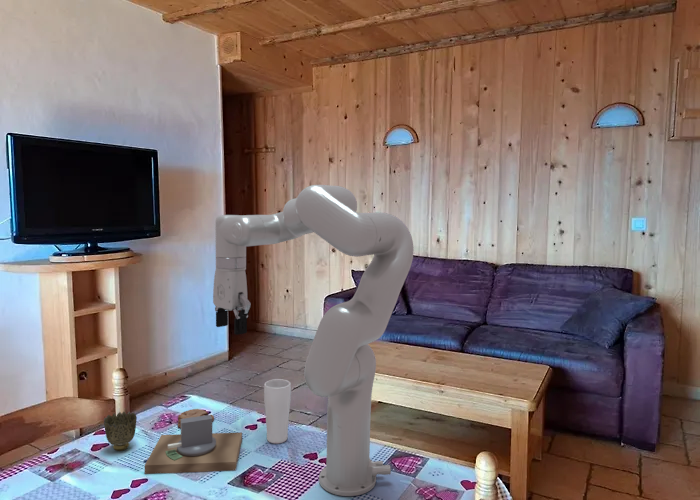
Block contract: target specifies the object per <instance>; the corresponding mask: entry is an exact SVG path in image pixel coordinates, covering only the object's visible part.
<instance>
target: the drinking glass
mask: <svg viewBox="0 0 700 500" xmlns="http://www.w3.org/2000/svg"><path fill="white" fill-rule="evenodd" d="M291 385H292V384H291V381H289V380H287V379H282V378H274V379H270V380H267V381H266V382H264V385H263V386H264V389H263V391H264V392H263V401H264V402H263V403H264V413H265V426H266V427H265V428H266V439H267V441H268V442H269V443H271V444H282V443H284V442H286V441H287V440H288V435H289V434H288V432H289V431H288V430H289V419H290V409H291V399H292V398H291V397H292V395H291V394H292V388H291V387H292V386H291Z"/></svg>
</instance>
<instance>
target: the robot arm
mask: <svg viewBox="0 0 700 500" xmlns="http://www.w3.org/2000/svg"><path fill="white" fill-rule="evenodd" d="M283 206H284V207H283V210H282V211H280V212H277V213H273V214H246V215H244V214H243V215H239V214H220V215H218V216H217V217H216V219H215V271H214V277H213V278H214V279H213V287H212V288H213V291H212V292H213V293H212V297H213V298H212V303H213V305H214V306H215V307H214V311H215V326H216V328H221V327H227V326H228V325H229V311H233V313H234V316H235V318H234V322H233V323H234V325H233V326H234V328H233V329H234V331H233V332H234V335H236V336H238V335H244V334H247V333H248V317H249V313H250V308H251V302H250V300H249V299H248V285H247V282H248V281H247V274H246V270H247V247H255V246H267V245H269V246H270V245H275V244H280V243H284V242H287V241H291V240H296V239H297V238H300V237H303V236H304V235H309V234H313V233H314V234H316V235H317V236H318V237H320V238H321V239H322V240H324V241H325V242H327V243H328V244H329V245H330V246H332V247H333V248H335V249H336V250H337V251H338V252H341V253H342V254H344V255H347V256H349V257H365V256H372V255H373V258H372V259H371V261H370V263H369V264H368V266H367V267H366V268H365V270H364V272H363V273H362V275H361V278H360V281H359V284H358V286H357V289H356V291H355V292H354V295H353V297H352V298H351V299H350V300H348V301H344V302H341V303H340V302H339V303H338V304H336V305H333V306H332V307H330V308H329V309H328V310H327V311H326V312H325V313H324V314H323V316H322V318H321V319H320V322H319V324H318V327H317V329H316V332H315V334H314V336H313V339H312V340H313V341H312V343H311V346H310V348H309V351H308V353H307V356H306V359H305V360H306V361H305V363H304V370H303V371H304V381H305V384H306V385H307V387H308V389H309V391H311V393H312V394H313V395H316V396H317V397H321V398H327V408H326V462H325V463H326V464H325V465H326V466H325V467H324V468H322V470H320V473H319V475H318V482H319V484H320V486H321V488H323V490H324V491H327V492H328V493H330V494H332V495H336V496H343V497H353V496H360V495H363V494H366V493H368V492H369V491H371V490H372V489H374V487H375V486H376V483H377V475H384V476H385V475H392V474H391V473H392V472H391V471H392V470H391V464H385V465H384V461H383V460H376V461H373V460H372V459H371V456H370V452H371V449H370V448H371V418H372V417H371V413H372V394H373V386H374V382H375V375H376V369H377V360H376V355H375V354H376V353H375V351H374V350H373V348H372V347H371V346H370V345H369V344H371V343H373V342H375V341H377V340H379V339H380V338H381V337H382V336H383V335H384V334H385V332H386V329H387V326H388V325H389V321H390V319H391V317H392V313H393V311H394V309H395V307H396V303H397V301H398V298H399V295H400V292H401V291H402V288H403V286H404V284H405V282H406V279H407V277H408V274H409V273H410V270H411V267H412V263H413V259H414V251H415V250H414V249H415V248H414V247H415V246H414V241H413V238H412V235H411V232H410V230H409V228H408V226H407V225H406V224H405V222H404V221H403V220H402V219H400V218H399V217H398V216H396V215H393V214H391V213H385V212H357V210H358V202H357V199H356V196H355V194H354V193H353V192H352V191H351V190H350V189H348V188H346V187H345V186H344V187H343V186H340V185H328V184H327V185H326V184H312V185H309V186H306V187H305V188H304V189H302V190H301V191H300V192H299V194H298V195H297V197H296V198H292V199H289V200H288V201H287V202H285V204H284V205H283Z"/></svg>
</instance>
